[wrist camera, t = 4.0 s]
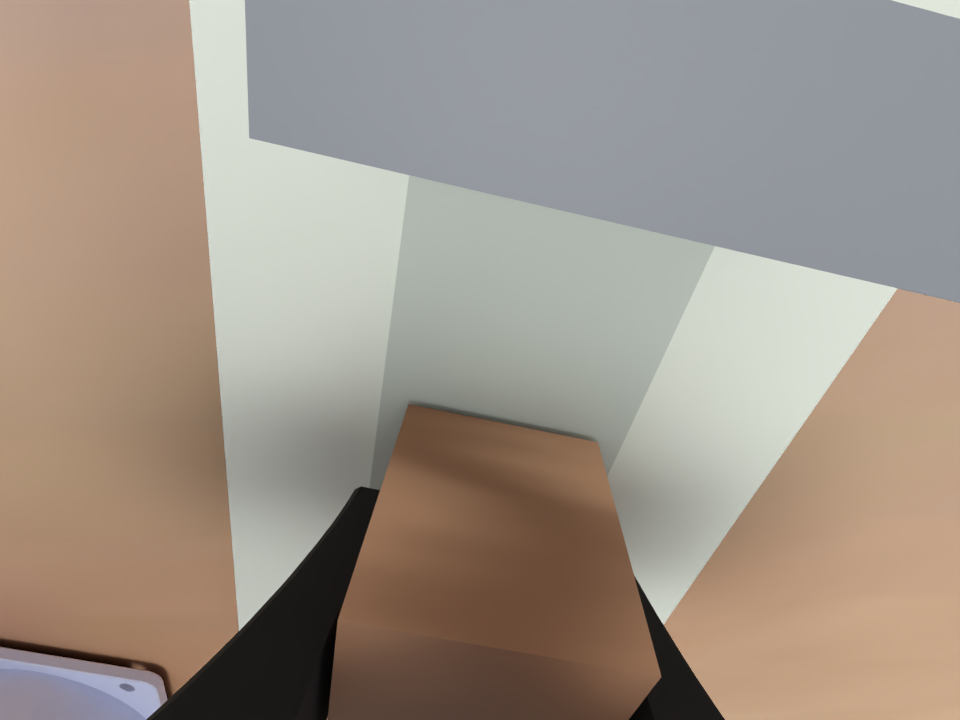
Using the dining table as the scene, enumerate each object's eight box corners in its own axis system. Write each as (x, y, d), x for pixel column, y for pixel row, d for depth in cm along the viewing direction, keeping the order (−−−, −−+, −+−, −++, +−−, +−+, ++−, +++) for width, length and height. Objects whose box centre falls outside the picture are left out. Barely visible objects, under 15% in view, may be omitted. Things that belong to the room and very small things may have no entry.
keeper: (382, 561, 12) (320, 790, 8) (408, 403, 9) (337, 620, 5) (534, 588, 12) (547, 824, 8) (597, 442, 10) (661, 677, 6)
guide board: (248, 641, 15) (172, 800, 12) (183, -401, 5) (-482, -1441, 2) (596, 700, 16) (622, 866, 13) (1139, -116, 6) (2071, -440, 2)
